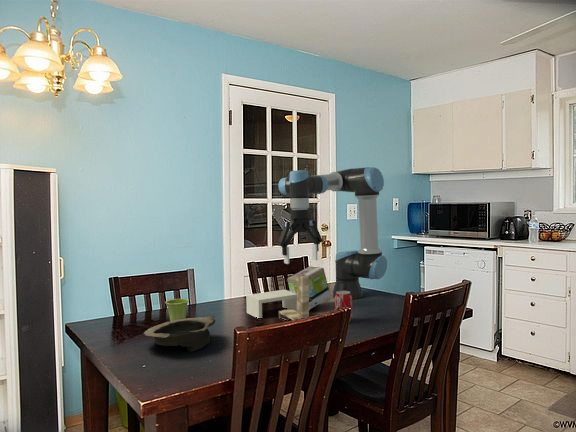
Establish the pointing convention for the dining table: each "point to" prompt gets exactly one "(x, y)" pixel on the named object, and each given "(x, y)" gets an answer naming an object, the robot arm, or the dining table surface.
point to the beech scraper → (299, 300)
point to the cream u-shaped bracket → (256, 301)
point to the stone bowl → (183, 332)
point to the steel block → (285, 318)
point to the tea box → (312, 285)
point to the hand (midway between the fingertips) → (301, 261)
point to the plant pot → (177, 309)
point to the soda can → (343, 300)
